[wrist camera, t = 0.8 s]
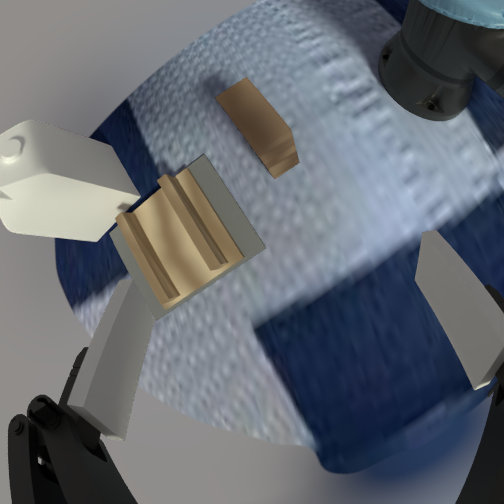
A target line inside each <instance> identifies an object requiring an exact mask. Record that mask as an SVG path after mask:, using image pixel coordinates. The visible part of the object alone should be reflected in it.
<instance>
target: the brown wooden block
mask: <svg viewBox="0 0 504 504" xmlns="http://www.w3.org/2000/svg"><path fill="white" fill-rule="evenodd" d="M216 100H217V101H218V102H219V104H220V105H221V106H222V108H223V109H224V110H225V112H226V113H227V114H228V116H229V117H230V118H231V120H232V121H233V122H234V124H235V125H236V127H237V128H238V129H239V131H240V132H241V133H242V135H243V136H244V138H245V139H246V140H247V142H248V143H249V144H250V146H251V147H252V148H253V150H254V151H255V152H256V154H257V155H258V157H259V158H260V159H261V161H262V162H263V164H264V165H265V166H266V168H267V169H268V171H269V172H270V173H271V175H272V176H273V178H274V179H276V178H277V177H279V176H280V175H282V174H283V173H285V172H286V171H288V170H289V169H291V168H292V167H294V166H295V165H297V164H298V163H299V159H298V155H297V151H296V147H295V143H294V139H293V135H292V131H291V129H290V128H289V126H288V125H287V124H286V123H285V121H284V120H283V119H282V118H281V117H280V115H279V114H278V113H277V112H276V111H275V109H274V108H273V107H272V106H271V105H270V103H269V102H268V101H267V100H266V99H265V98H264V96H263V95H262V94H261V93H260V92H259V91H258V89H257V88H256V87H255V86H254V85H253V84H252V83H251V82H250V80H249V79H248V78H247V77H246V78H244V79H242V80H241V81H239V82H238V83H236V84H235V85H233V86H232V87H230V88H229V89H227V90H226V91H224V92H223V93H221V94H220V95H218V96H217V97H216Z"/></svg>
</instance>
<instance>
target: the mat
mask: <svg viewBox="0 0 504 504" xmlns="http://www.w3.org/2000/svg"><path fill="white" fill-rule="evenodd" d="M187 168H188V169H190V171H191V173H192V174H193V176H194V177H195V179H196V181H197V182H198V184H199V185H200V187H201V188H202V190H203V192H204V193H205V195H206V196H207V198H208V200H209V201H210V203H211V204H212V206H213V208H214V209H215V211H216V212H217V214H218V215H219V217H220V219H221V220H222V222H223V223H224V225H225V227H226V228H227V230H228V231H229V233H230V234H231V236H232V238H233V239H234V241H235V242H236V244H237V245H238V247H239V249H240V250H241V252H242V253H243V255H244V256H245V258H243V259H242V260H240V261H239V262H237V263H236V264H234V265H233V266H231V267H230V268H228V269H227V270H225V271H224V272H222V273H221V274H219V275H218V276H216V277H215V278H213V279H212V280H210V281H209V282H207V283H206V284H204V285H203V286H201V287H200V288H198V289H197V290H195V291H194V292H192V293H191V294H189V295H188V296H186V297H185V298H183V299H182V300H180V301H179V302H177V303H176V304H174V305H173V306H171V307H170V308H168V309H166V310H165V309H164V308H163V306H162V305H161V304H160V302H159V301H158V299H157V297H156V295H155V294H154V292H153V290H152V288H151V287H150V285H149V283H148V281H147V279H146V278H145V276H144V274H143V272H142V270H141V269H140V267H139V265H138V263H137V261H136V259H135V257H134V255H133V254H132V252H131V250H130V248H129V246H128V244H127V242H126V240H125V238H124V236H123V234H122V232H121V230H120V228H119V226H117V227H116V228H115V229H114V230H112V231H111V232H110V233H109V234H110V236H111V238H112V240H113V242H114V244H115V246H116V248H117V250H118V252H119V254H120V256H121V258H122V260H123V262H124V264H125V266H126V268H127V270H128V272H129V273H130V275H131V277H132V279H134V281H135V283H136V285H137V287H138V289H139V291H140V293H141V295H142V297H143V299H144V301H145V303H146V304H147V306H148V308H149V310H150V311H151V313H152V315H153V316H154V318H155V320H158V319H160V318H161V317H163V316H164V315H166V314H167V313H169V312H170V311H172V310H173V309H175V308H176V307H178V306H179V305H181V304H182V303H184V302H185V301H187V300H188V299H190V298H191V297H193V296H195V295H196V294H198V293H199V292H201V291H202V290H204V289H205V288H207V287H208V286H210V285H211V284H213V283H214V282H216V281H217V280H219V279H220V278H222V277H223V276H225V275H226V274H228V273H229V272H231V271H232V270H234V269H235V268H237V267H238V266H240V265H241V264H243V263H244V262H246V261H247V260H249V259H250V258H252V257H253V256H255V255H256V254H258V253H259V252H261V251H262V250H264V249H265V248H266V247H265V245H264V244H263V242H262V241H261V239H260V238H259V236H258V235H257V233H256V232H255V230H254V228H253V227H252V225H251V224H250V222H249V221H248V219H247V218H246V216H245V215H244V213H243V212H242V210H241V209H240V207H239V205H238V204H237V202H236V201H235V199H234V198H233V196H232V195H231V193H230V192H229V190H228V189H227V187H226V186H225V184H224V183H223V181H222V180H221V178H220V177H219V175H218V174H217V172H216V171H215V169H214V168H213V166H212V164H211V163H210V161H209V160H208V158H207V157H206V155H205V154H204V155H202V156H201V157H200V158H198V159H197V160H196V161H195V162H193V163H192V164H191V165H189V166H188V167H187Z"/></svg>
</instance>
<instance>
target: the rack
mask: <svg viewBox="0 0 504 504" xmlns="http://www.w3.org/2000/svg"><path fill="white" fill-rule="evenodd" d="M157 181H158V183H159V185H160V186H161V189H159V190H158V191H157V192H156V193H155V194H153V195H152V196H151V197H150V198H149V199H147V200H146V201H145V202H144V203H143V204H142V205H140V206H139V207H138V208H137V209H136V210H135V211H134V212H132V213H126V212H121V213H120V214H119V215H118V216H116V217H115V220H116V222H117V224H118V226H119V228H120V230H121V232H122V234H123V236H124V238H125V240H126V242H127V244H128V246H129V248H130V250H131V252H132V254H133V255H134V257H135V259H136V261H137V263H138V265H139V267H140V269H141V270H142V272H143V274H144V276H145V278H146V279H147V281H148V283H149V285H150V287H151V288H152V290H153V292H154V294H155V295H156V297H157V299H158V301H159V302H160V304H161V305H162V306H163V308H164V309H165V310H166V309H168V308H170V307H171V306H173V305H174V304H176V303H177V302H179V301H180V300H182V299H183V298H185V297H186V296H188V295H189V294H191V293H192V292H194V291H195V290H197V289H198V288H200V287H201V286H203V285H204V284H206V283H207V282H209V281H210V280H212V279H213V278H215V277H216V276H218V275H219V274H221V273H222V272H224V271H225V270H227V269H228V268H230V267H231V266H233V265H234V264H236V263H237V262H239V261H240V260H242V259H243V258H245V256H244V255H243V253H242V252H241V250H240V249H239V247H238V245H237V244H236V242H235V241H234V239H233V238H232V236H231V234H230V233H229V231H228V230H227V228H226V227H225V225H224V223H223V222H222V220H221V219H220V217H219V215H218V214H217V212H216V211H215V209H214V208H213V206H212V204H211V203H210V201H209V200H208V198H207V196H206V195H205V193H204V192H203V190H202V188H201V187H200V185H199V184H198V182H197V181H196V179H195V177H194V176H193V174H192V173H191V171H190V169H188V168H185V169H184V170H183V171H182V172H180V173H179V174H178V175H177V176H175V177H172V176H170V175H168V174H165V175H163V176H162V177H161V178H160V179H159V180H157Z"/></svg>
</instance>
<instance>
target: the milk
mask: <svg viewBox="0 0 504 504" xmlns="http://www.w3.org/2000/svg"><path fill="white" fill-rule="evenodd" d="M140 197H141V196H140V194H139V193H138V191H137V189H136V188H135V186H134V184H133V183H132V181H131V179H130V178H129V176H128V174H127V172H126V171H125V169H124V167H123V166H122V164H121V162H120V160H119V159H118V157H117V155H116V153H115V152H114V150H113V148H112V146H110V145H108V144H105V143H102V142H99V141H96V140H94V139H91V138H88V137H85V136H82V135H79V134H76V133H73V132H70V131H68V130H65V129H62V128H58V127H56V126H52V125H49V124H46V123H43V122H40V121H37V120H27V121H24V122H22V123H20V124H18V125H16V126H14V127H12V128H11V129H9V130H7V131H5V132H4V133H2V134H0V218H1V219H2V222H3V224H4V225H5V227H6V228H7V229H8V230H9V231H11V232H14V233H20V234H29V235H39V236H48V237H57V238H66V239H76V240H85V241H95V242H97V241H98V240H99V239H100V238H101V237H102V236H103V235H104V233H105V232H106V231H107V230H108V229H109V228H110V227H111V226H112V225H113V224H114V223H115V222H116V220H115V217H116V216H118V215H119V214H120V213H121V212H126V211H127V210H128V209H129V208H130V207H131V206H132V205H133V204H134V203H135V202H136V201H137V200H138V199H139V198H140Z"/></svg>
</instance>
